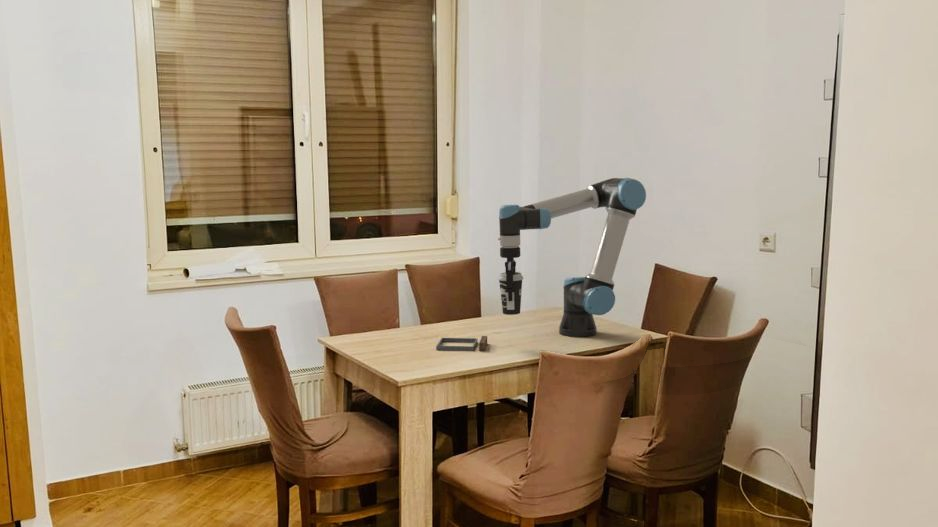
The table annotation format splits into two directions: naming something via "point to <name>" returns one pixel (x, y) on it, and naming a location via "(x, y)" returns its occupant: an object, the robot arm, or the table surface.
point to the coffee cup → (517, 292)
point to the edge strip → (483, 343)
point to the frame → (464, 348)
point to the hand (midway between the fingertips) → (511, 307)
